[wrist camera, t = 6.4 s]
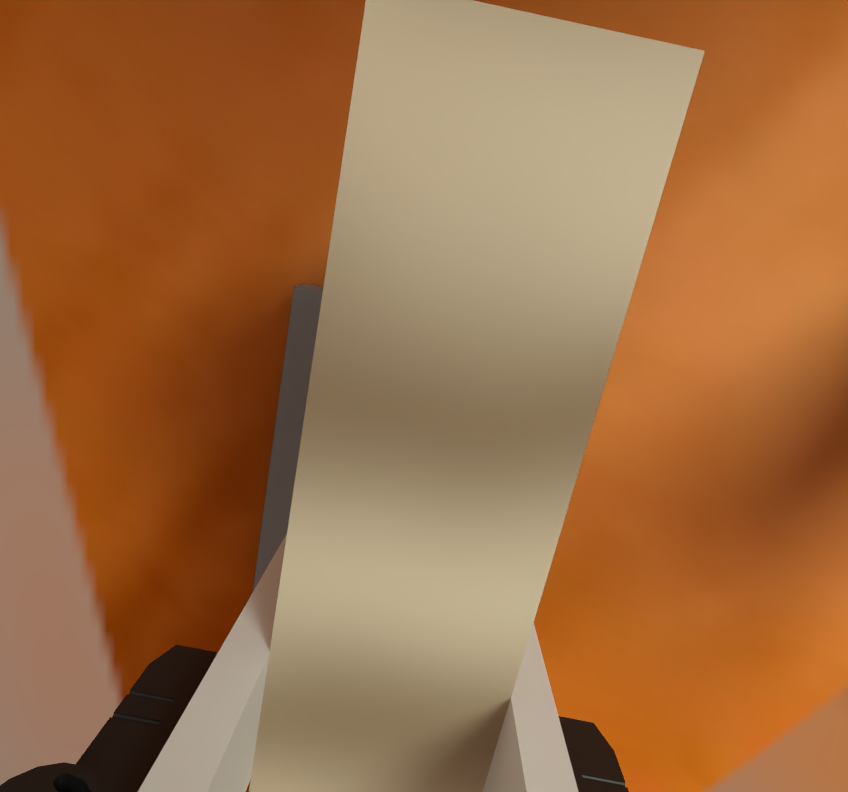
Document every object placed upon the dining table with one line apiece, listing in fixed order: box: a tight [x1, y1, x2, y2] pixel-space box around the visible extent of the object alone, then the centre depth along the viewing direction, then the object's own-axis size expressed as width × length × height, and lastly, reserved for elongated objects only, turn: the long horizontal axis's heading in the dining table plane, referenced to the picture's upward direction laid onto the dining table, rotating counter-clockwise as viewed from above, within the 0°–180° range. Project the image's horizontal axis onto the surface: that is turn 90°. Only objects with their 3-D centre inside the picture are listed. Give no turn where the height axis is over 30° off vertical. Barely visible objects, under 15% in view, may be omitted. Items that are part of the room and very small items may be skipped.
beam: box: [249, 0, 705, 792], centre depth 11 cm, size 22×4×5 cm, turn 169°
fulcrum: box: [253, 284, 323, 591], centre depth 16 cm, size 12×10×6 cm
